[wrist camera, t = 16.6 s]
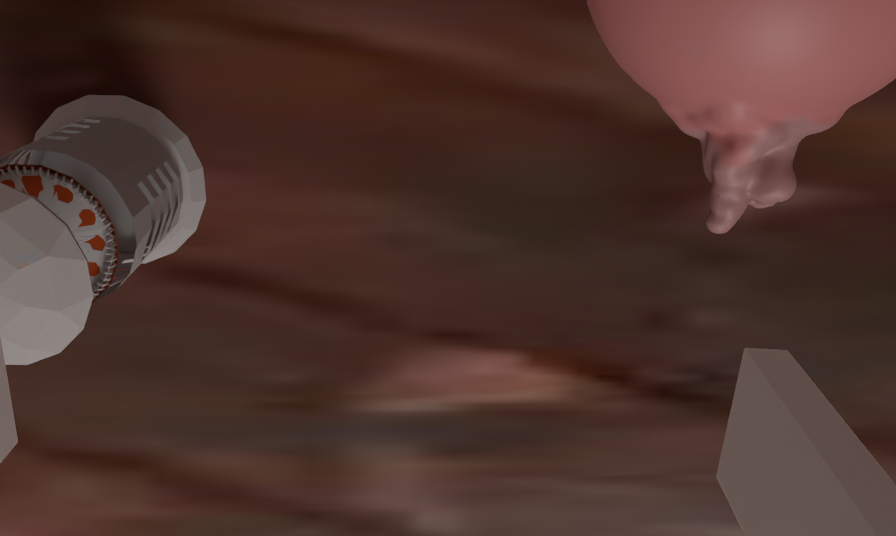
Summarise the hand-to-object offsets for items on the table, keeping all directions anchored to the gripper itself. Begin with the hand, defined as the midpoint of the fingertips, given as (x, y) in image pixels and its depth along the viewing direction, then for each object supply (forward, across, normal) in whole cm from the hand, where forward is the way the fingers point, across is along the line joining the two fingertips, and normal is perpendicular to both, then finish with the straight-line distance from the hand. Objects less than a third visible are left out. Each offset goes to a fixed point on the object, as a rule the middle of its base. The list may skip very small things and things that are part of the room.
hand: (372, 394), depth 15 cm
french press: (+32, -17, -7) cm, 37 cm away
